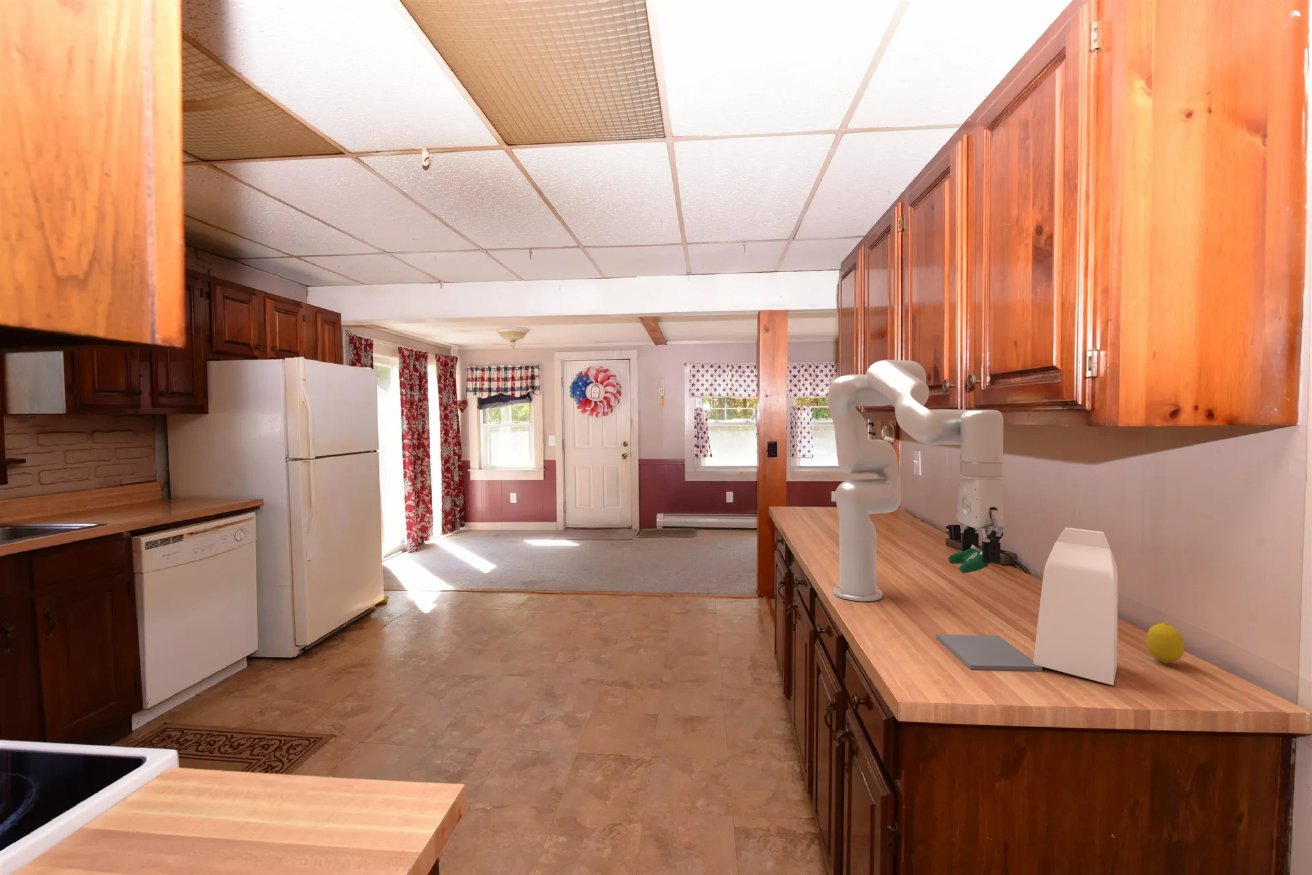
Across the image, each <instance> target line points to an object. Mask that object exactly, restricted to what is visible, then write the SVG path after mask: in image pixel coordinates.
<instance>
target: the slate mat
mask: <svg viewBox="0 0 1312 875" xmlns="http://www.w3.org/2000/svg"><path fill="white" fill-rule="evenodd" d="M935 638H936V639H937V640H938V641H939V642H940V643H941V644H942V645H943V646H944V647H945V648H946V649H947V650H949V651H950V653H952V654H953V655H954V656H955V657H957V659H958V660H960V661H961V662H962V663H963V664H964V665H965V666H966V667H967V668H968V669H969V670H985V671H986V670H987V671H990V670H991V671H1019V672H1020V671H1021V672H1022V671H1023V672H1024V671H1025V672H1027V671H1028V672H1043V667H1042V666H1038V665H1035V664H1033V659H1032V658H1031V657H1029V656H1028V655H1026V654H1025V653H1024V652H1022V651H1021V650H1020V649H1018V648H1016V647H1015V646H1014V645H1012V644H1011V643H1009V642H1008V641H1007V640H1006V639H1004V638H1003V637H1001V636H1000V635H991V634H990V635H985V634H983V635H981V634H980V635H979V634H942V633H941V634H938V633H937V634H936V635H935Z"/></svg>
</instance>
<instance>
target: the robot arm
mask: <svg viewBox="0 0 1312 875" xmlns="http://www.w3.org/2000/svg"><path fill="white" fill-rule="evenodd" d="M926 381H927V373H926V370H925V368H924V367H923V366H922V365H921V364H920V363H918V362H917V361H914V360H901V359H883V360H882V359H881V360H878V361H875V362H873V363H872V364H871V365H870V366H869V367H868V369H867V370H866V373H865V374H846V375H841V376H838V377H836V378H835V379H834V380H832V382H831V384H830V386H829V388H828V392H827V406H828V410H829V414H830V416H831V419H832V423H833V428H834V429H833V430H834V436H835V437H834V438H835V447H836V457H837V458H836V459H837V464H838V468H839V469H840V471H841V472H842V473H844V474H846V475H872V478H858V479H857V478H855V479H848V480H845V481H843V482H841V483H840V484H839V485H838V486H837V488H836V489H835V496H834V497H835V503H836V509H837V514H838V526H839V528H838V530H839V533H838V535H839V536H838V538H839V541H838V542H839V545H838V546H839V547H838V548H839V552H838V553H839V554H838V555H839V558H838V560H839V571H838V572H839V585H836V586H835V587H833V594H834V595H835V596H836V597H838V598H841V599H844V600H849V601H855V602H874V601H875V602H876V601H878V600H881V599H882V598H883V592H882V590H880V589H879V588H877V530H876V527H875V525H874V523H873V521H872V520H871V518H870V516H869V515H872V514H873V515H875V514H887V513H893V512H895V511H896V510H898V509H899V507H900V505H901V502H902V489H901V480H900V472H899V470H900V469H899V463H898V462H899V461H898V456H897V453H896V450H895V449H894V446H893V445H892V444H891V443H890V442H888V441H887V440H883V439H870V438H869V435H868V426H867V422H866V420H865V418H864V416H863V415H862V414H861V412H860V411H859V410H858V409H857V408H856V407H858V406H859V407H861V406H862V407H885V406H890V405H891V406H893V407H894V413H895V419H896V422H897V424H898V426H899V427H900V429H901V430H903V431H904V433H906V434H907V435H908V436H910V437H911V439H913V440H915V441H917V442H918V443H921V444H924V445H928V446H929V445H930V446H935V445H937V446H938V445H941V446H943V445H952V446H953V445H955V446H956V445H957V446H958V445H960V447H959V448H960V449H959V450H960V453H959V457H960V458H959V459H960V461H959V462H960V463H959V478H960V479H959V486H958V492H957V494H958V495H957V504H956V505H957V506H956V511H957V512H956V518H957V521H958V523H960V524H961V528H960V530H961V552H962V551H966V550H968V549H969V548H971V547H972V545H974V546H975V547H977V549H979V550H980V548H979V544H980V543H979V542H980V535H979V534H980V533H979V532H978V530H981V534H982V536H983V539H984V540H983V541H982V542H981V551H982V561H983V562H985V563H989V564H991V563H992V564H995V563H996V564H999V563H1000V562H1001V543H1002V542H1003V536H1004V531H1005V529H1006V523H1005V522H1004V501H1003V487H1002V480H1003V479H1004V477H1003V476H1004V475H1003V474H1004V462H1003V461H1004V460H1003V458H1004V416H1003V413H1002V412H1001V411H999V410H997V409H970V410H969V409H949V408H947V409H944V408H943V409H939V408H937V409H930V408H927V407H926V406H925V404H926V403H927V402H928V399H929V396H930V388H929V386H928V384H927V383H926Z"/></svg>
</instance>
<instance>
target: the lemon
mask: <svg viewBox="0 0 1312 875" xmlns="http://www.w3.org/2000/svg"><path fill="white" fill-rule="evenodd" d="M1145 639H1146V646H1147V647H1146V648H1147V649H1148V651H1149V653H1150V654H1151V655H1152V656H1153V657H1154V658H1156V659H1157V660H1159V661H1160V662H1161V663H1162V664H1164V665H1166V664H1169V663H1172V662H1175V661H1176V662H1177V661H1178V660H1180V659H1181V658H1182V656H1183V655H1184V653H1185V641H1184V640H1185V639H1184V637H1183V635H1182V634H1181V632H1180V631H1179V630H1178V629H1177V628H1176V627H1174V626H1172V625H1170V624H1169V623H1167V622H1161V623H1157V624H1154V625H1152V626H1151V627H1150V628H1149V629H1148V631H1147V634H1146V638H1145Z"/></svg>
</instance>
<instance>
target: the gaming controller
mask: <svg viewBox="0 0 1312 875" xmlns="http://www.w3.org/2000/svg"><path fill="white" fill-rule="evenodd" d="M948 562H949V563H950V564H951V565H952V564H953V565H958V564H960V566H959V568H958V570H959V571H960V572H961V573H962V574H967V573H974V572H980V571H982V569H985V568H987V567H988V566H989V564H990V563H985V562H983V561H982V550H980V548H979V549H977V547H975V546H974V545H972V547H971V548H969V549H968V550H966V551H962V550H961V551H958V552H954V553H952V554H951V555H949V556H948Z"/></svg>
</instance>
